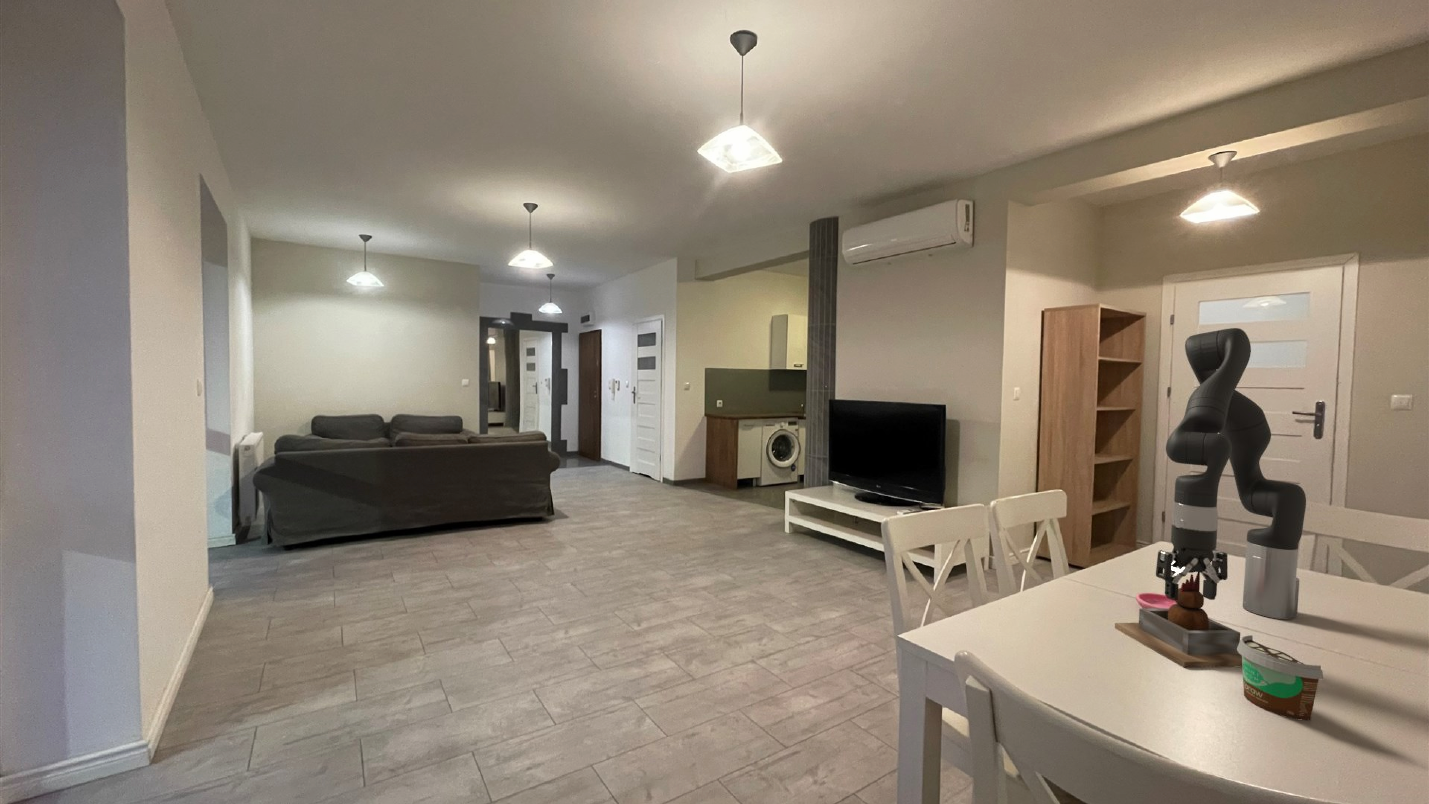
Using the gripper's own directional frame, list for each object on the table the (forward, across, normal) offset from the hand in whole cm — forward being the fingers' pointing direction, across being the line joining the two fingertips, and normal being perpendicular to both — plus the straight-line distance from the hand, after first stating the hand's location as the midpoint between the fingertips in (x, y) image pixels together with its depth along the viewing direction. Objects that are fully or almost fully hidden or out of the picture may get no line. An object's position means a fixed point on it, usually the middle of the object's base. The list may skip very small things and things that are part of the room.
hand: (1190, 598), depth 123 cm
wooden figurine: (+9, 0, 0) cm, 9 cm away
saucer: (+11, -11, -17) cm, 23 cm away
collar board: (+10, 0, 0) cm, 10 cm away
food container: (+11, +6, +22) cm, 25 cm away
